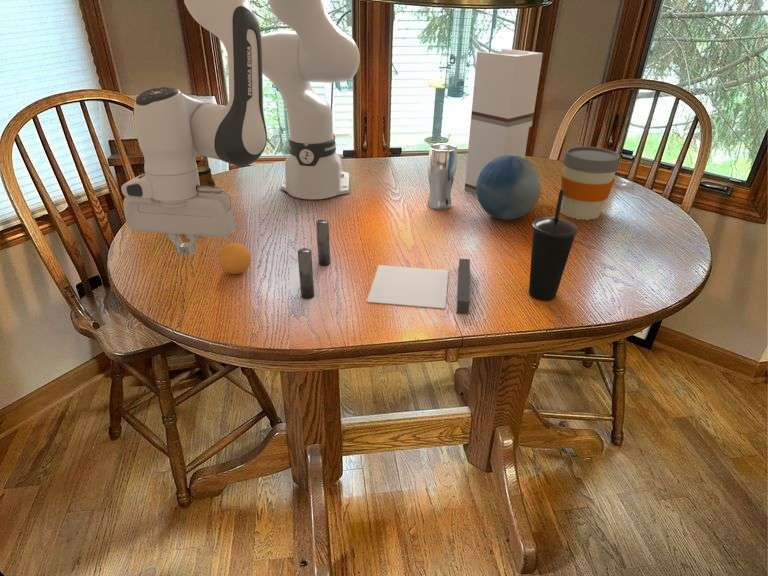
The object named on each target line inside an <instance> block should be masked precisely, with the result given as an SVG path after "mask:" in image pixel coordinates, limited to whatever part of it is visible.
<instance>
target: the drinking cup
mask: <svg viewBox="0 0 768 576" xmlns="http://www.w3.org/2000/svg"><path fill="white" fill-rule="evenodd" d="M563 193H564V190H561V189H559V192H558V197H557V203H556V206H555V208H556V209H555V213H554V216H547V217H545V216H544V217H540V218H536V219H535V220H533V222H532V223H531V228H532V239H531V240H532V241H531V253H530V254H531V255H530V271H529V284H528V285H529V286H528V294H529V296H530V297H531V298H533V299H536V300H538V301H542V302H547V301H548V302H549V301H552V300H555V298H556V297H557V293H558V290H559V286H560V283H561V280H562V278H563V275H564V272H565V268H566V265H567V262H568V258H569V255H570V253H571V249H572V247H573V243H574V240H575V237H576V235H577V234H578V232H579V227H578V226H577V224H575V223H573V222H572V221H569V220H567V219H565V218H562V217H560V214H561V210H562V198H563Z"/></svg>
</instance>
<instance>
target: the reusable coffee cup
mask: <svg viewBox="0 0 768 576" xmlns="http://www.w3.org/2000/svg"><path fill="white" fill-rule="evenodd" d="M620 157H621V155H620V154H619V153H618V152H616V151H613V150H610V149H607V148H603V147H602V148H601V147H596V146H595V147H594V146H572V147H569V148H567V149H566V151H565V154H564V157H563V161H562V164H563V171H562V173H561V181H560V182H561V183H560V190H564V193H563V198H562V203H561V209H560V212H561V213H562V214H563V215H564V214H565V215H564V216H566V217H568V216H569V217H568V218H570V217H572V218H571V219H574V218H576V219H575V220H579V219H583V220H582V221H591V220H590V219H593V220H596V219H598V218H599V217H600V214H601V212H602V209H603V206H604V203H605V201H606V200H607V199H608V198H609V196H610V194H611V190H612V188H613V186H614V182H615V178H614V177H615V174H616V172H617V171H618V170H619V165H620ZM598 216H599V217H598ZM597 217H598V218H597ZM595 218H596V219H595ZM584 219H585V220H584Z"/></svg>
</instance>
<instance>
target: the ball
mask: <svg viewBox="0 0 768 576" xmlns="http://www.w3.org/2000/svg"><path fill="white" fill-rule="evenodd" d="M251 262H252V255H251V253H250V250H249V249H248V248H247V247H246V245H244V244H242V243H238V242H231V243H227V244H226V245H224V246H223V247H222V249H220V250H219V254H218V263H219V265H220V267H221V269H222V270H224V272H226V273H229V274H231V275H237V274H242V273H244V272H245V271H246V270H247V269H249V267H250V264H251Z"/></svg>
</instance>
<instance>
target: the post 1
mask: <svg viewBox="0 0 768 576" xmlns="http://www.w3.org/2000/svg"><path fill="white" fill-rule="evenodd" d="M312 253H313V252H312V249H310V248H308V247H307V248H306V247H305V248H299V249H298V250H297V261H298V272H299V274H298V275H299V284H300V285H299V286H300V297H301V299H305V300H310V299H313V298H314V297H315V285H314V284H315V283H314V282H315V281H314V270H313V255H312Z"/></svg>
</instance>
